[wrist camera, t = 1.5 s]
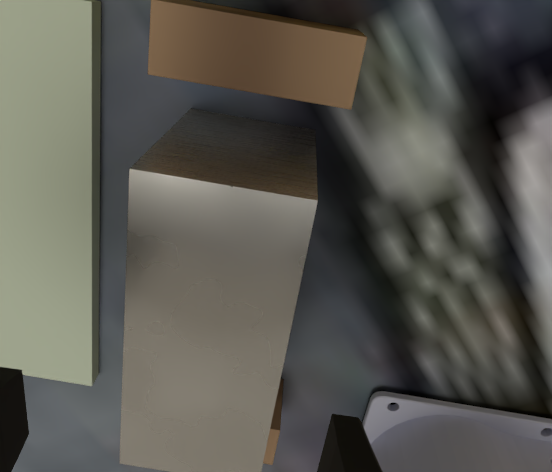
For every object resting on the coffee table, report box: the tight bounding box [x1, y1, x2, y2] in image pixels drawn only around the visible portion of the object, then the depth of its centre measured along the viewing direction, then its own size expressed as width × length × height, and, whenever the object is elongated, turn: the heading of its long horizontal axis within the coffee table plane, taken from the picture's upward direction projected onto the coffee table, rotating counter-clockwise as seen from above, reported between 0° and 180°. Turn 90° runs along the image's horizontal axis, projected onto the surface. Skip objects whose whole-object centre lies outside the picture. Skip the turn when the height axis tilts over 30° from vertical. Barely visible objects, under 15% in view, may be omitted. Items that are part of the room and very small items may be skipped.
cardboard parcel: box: [148, 0, 367, 465], centre depth 19 cm, size 6×17×3 cm, turn 171°
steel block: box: [120, 108, 318, 472], centre depth 17 cm, size 4×10×7 cm, turn 171°
